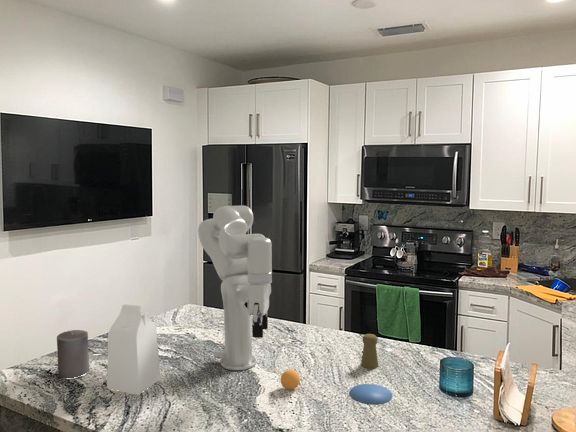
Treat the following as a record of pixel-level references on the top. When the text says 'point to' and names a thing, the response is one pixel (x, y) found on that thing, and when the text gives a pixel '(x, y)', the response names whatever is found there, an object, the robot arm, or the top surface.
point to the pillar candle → (72, 353)
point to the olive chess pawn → (369, 352)
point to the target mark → (370, 394)
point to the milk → (132, 352)
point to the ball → (290, 379)
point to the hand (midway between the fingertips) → (260, 332)
